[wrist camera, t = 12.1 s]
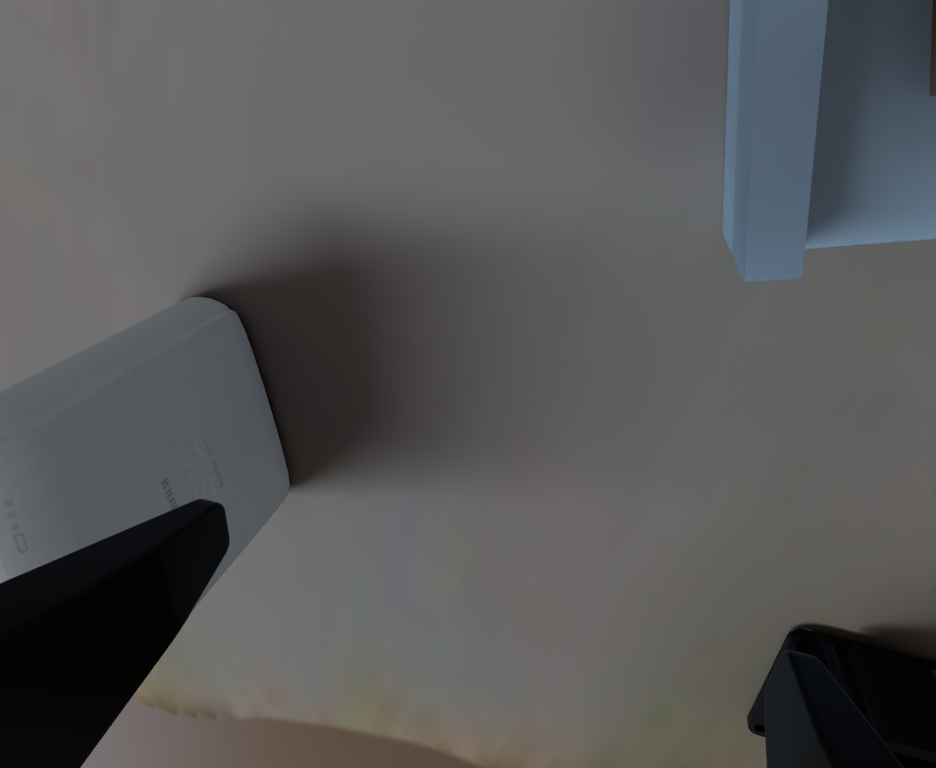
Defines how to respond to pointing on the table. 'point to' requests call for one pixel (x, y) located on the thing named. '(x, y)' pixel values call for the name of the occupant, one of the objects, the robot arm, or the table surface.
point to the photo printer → (139, 438)
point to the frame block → (933, 53)
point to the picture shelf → (826, 129)
